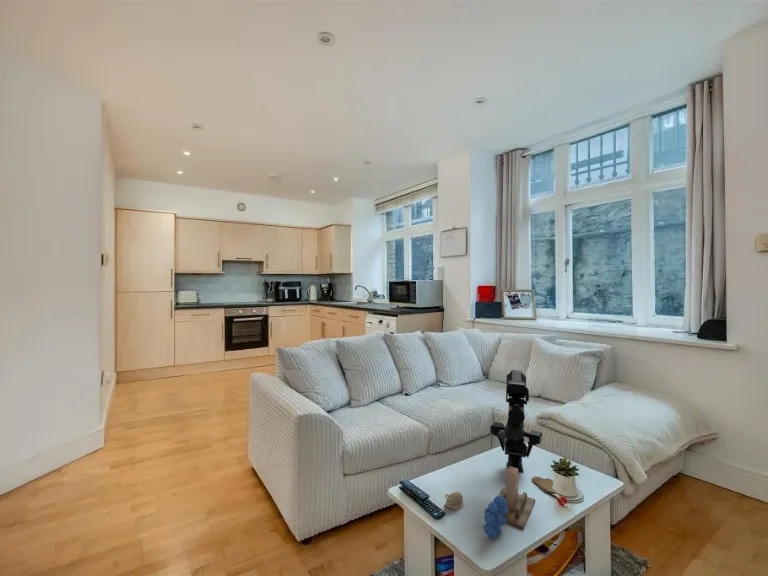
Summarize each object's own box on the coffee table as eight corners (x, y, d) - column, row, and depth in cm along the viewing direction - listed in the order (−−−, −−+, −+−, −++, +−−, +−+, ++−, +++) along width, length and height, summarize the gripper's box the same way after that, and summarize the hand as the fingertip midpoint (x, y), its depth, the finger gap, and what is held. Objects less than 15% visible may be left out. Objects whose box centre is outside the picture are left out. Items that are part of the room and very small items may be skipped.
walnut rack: (502, 491, 141) (502, 480, 141) (535, 501, 134) (535, 491, 134) (487, 516, 126) (487, 504, 126) (523, 529, 119) (523, 517, 119)
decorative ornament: (466, 506, 131) (466, 492, 131) (446, 512, 127) (447, 497, 127) (459, 500, 135) (459, 486, 134) (440, 506, 131) (440, 491, 131)
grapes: (494, 520, 124) (494, 485, 123) (512, 530, 119) (513, 494, 118) (473, 535, 116) (473, 498, 116) (492, 547, 111) (492, 509, 111)
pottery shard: (526, 486, 147) (562, 502, 134) (525, 480, 147) (562, 495, 135) (538, 480, 152) (574, 495, 139) (537, 474, 152) (574, 488, 139)
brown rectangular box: (505, 507, 129) (506, 471, 129) (509, 501, 132) (509, 466, 132) (514, 510, 127) (515, 473, 127) (517, 504, 131) (518, 468, 130)
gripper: (485, 415, 141) (485, 455, 142) (537, 427, 131) (536, 469, 131) (494, 407, 151) (494, 444, 151) (543, 417, 140) (542, 457, 141)
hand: (515, 453), depth 143 cm, fingers open, 9 cm apart
